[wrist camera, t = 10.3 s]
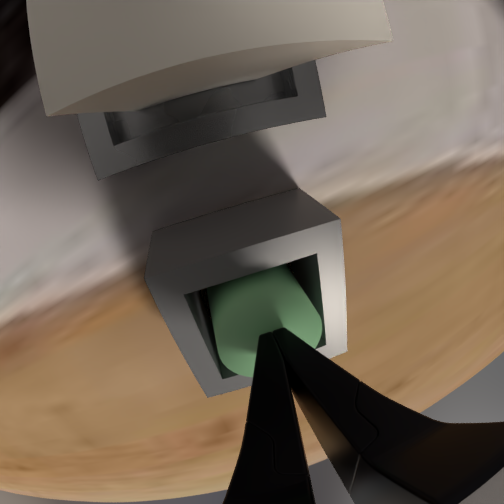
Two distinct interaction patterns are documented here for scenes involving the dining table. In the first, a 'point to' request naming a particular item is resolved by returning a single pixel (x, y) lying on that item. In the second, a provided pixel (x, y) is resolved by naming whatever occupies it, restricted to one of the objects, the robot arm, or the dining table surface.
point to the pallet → (201, 118)
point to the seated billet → (183, 45)
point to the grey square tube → (246, 272)
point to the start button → (259, 314)
